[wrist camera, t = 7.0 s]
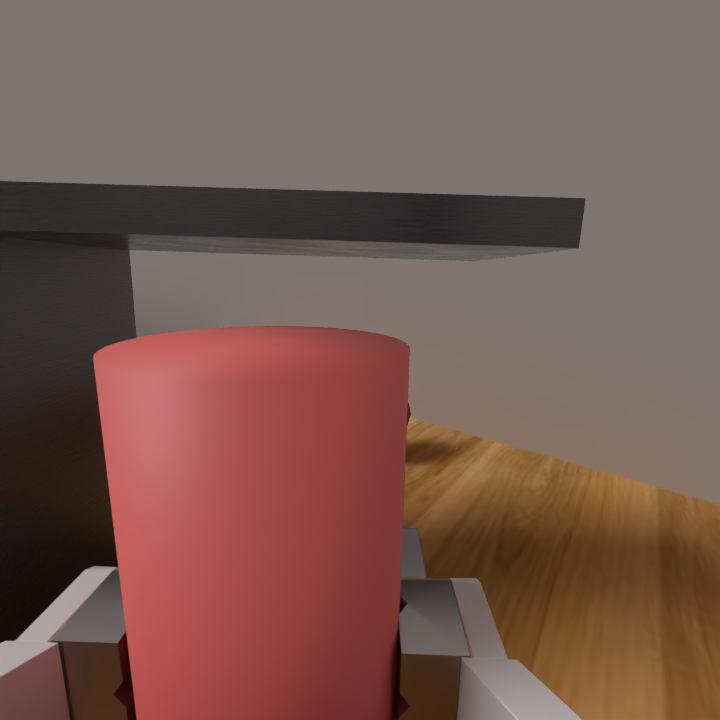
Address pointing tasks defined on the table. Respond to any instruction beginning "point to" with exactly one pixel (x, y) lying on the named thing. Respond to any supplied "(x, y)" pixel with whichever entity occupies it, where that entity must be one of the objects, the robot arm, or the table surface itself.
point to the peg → (258, 519)
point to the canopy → (117, 323)
